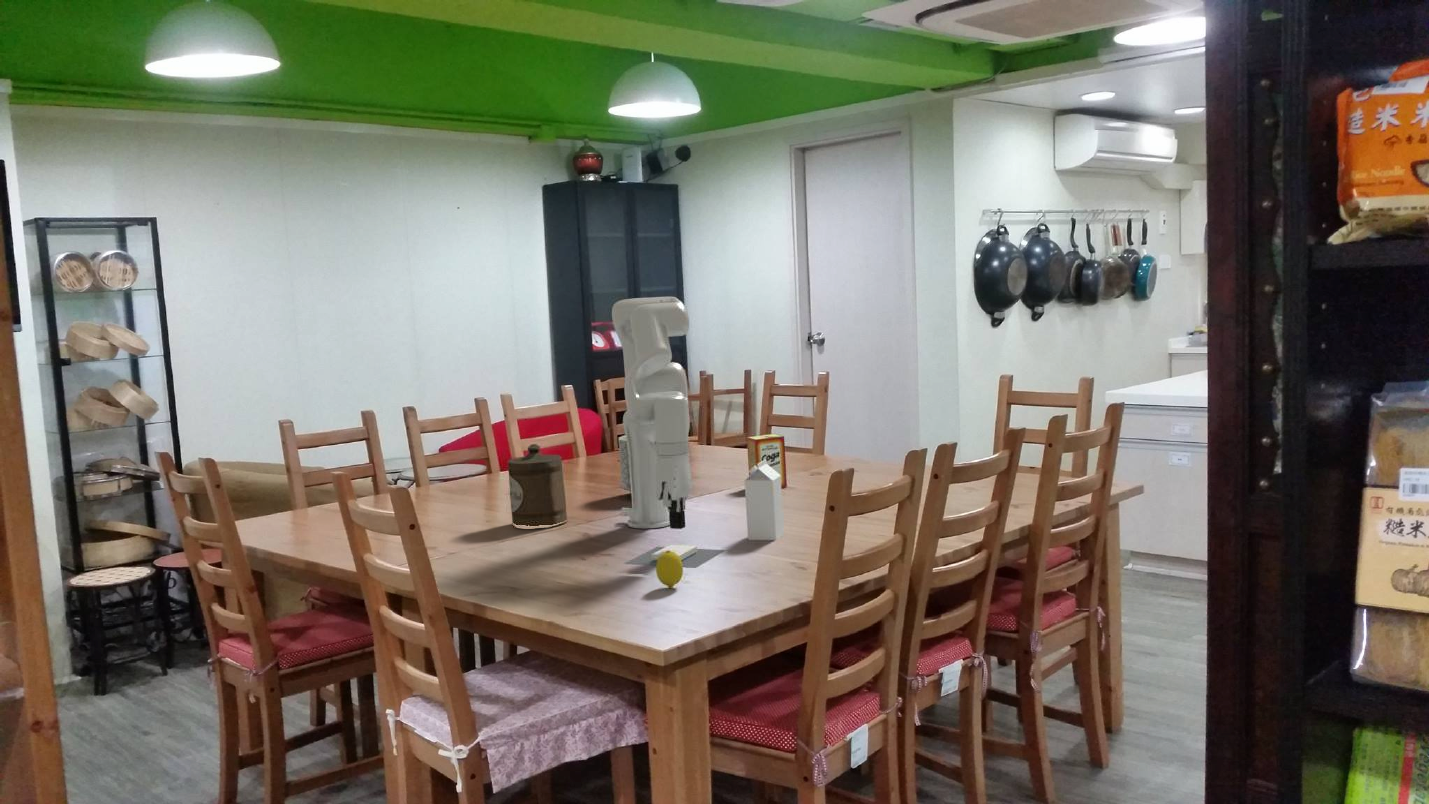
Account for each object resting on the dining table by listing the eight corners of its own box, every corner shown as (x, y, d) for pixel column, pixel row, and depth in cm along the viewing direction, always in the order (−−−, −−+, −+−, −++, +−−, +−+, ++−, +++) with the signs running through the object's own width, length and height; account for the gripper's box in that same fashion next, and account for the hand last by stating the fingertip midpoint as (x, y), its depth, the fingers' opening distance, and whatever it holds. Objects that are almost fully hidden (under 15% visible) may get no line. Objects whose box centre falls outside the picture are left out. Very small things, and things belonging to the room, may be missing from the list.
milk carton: (784, 535, 268) (779, 459, 266) (776, 542, 261) (771, 463, 259) (756, 535, 270) (752, 459, 268) (747, 541, 264) (743, 464, 262)
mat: (624, 566, 247) (624, 563, 247) (657, 549, 262) (657, 546, 262) (695, 570, 240) (695, 567, 240) (725, 552, 254) (725, 550, 254)
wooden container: (514, 520, 306) (508, 443, 304) (567, 516, 308) (562, 439, 306) (510, 531, 292) (504, 450, 289) (566, 527, 293) (560, 446, 291)
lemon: (657, 585, 229) (654, 548, 228) (683, 583, 230) (680, 546, 229) (657, 592, 224) (655, 554, 223) (684, 590, 224) (682, 552, 223)
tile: (670, 551, 256) (652, 561, 248) (669, 544, 256) (651, 554, 248) (697, 553, 253) (679, 562, 245) (696, 546, 253) (679, 555, 245)
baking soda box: (758, 491, 329) (755, 438, 327) (749, 487, 335) (746, 436, 333) (786, 487, 332) (784, 435, 330) (777, 484, 338) (775, 432, 336)
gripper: (673, 444, 258) (677, 520, 260) (642, 454, 245) (648, 534, 247) (701, 444, 255) (706, 521, 257) (672, 454, 242) (677, 536, 244)
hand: (677, 527), depth 252 cm, fingers closed
